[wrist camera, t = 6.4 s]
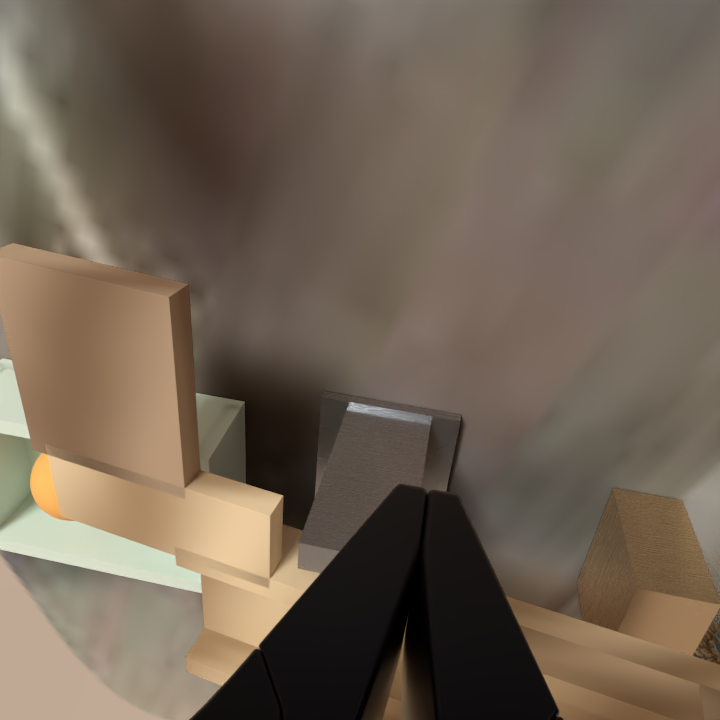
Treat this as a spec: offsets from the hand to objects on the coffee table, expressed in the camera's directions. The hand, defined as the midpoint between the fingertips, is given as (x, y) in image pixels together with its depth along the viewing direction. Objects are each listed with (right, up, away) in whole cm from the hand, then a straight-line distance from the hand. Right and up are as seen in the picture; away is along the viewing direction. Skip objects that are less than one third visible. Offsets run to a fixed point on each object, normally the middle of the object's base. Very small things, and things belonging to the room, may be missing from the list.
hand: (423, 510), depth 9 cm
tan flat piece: (-1, -3, +9) cm, 10 cm away
